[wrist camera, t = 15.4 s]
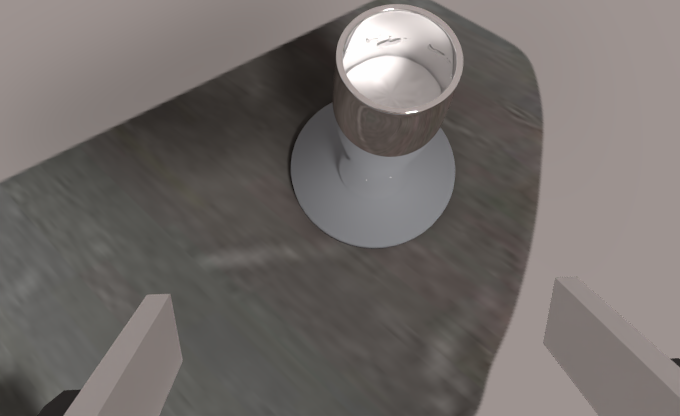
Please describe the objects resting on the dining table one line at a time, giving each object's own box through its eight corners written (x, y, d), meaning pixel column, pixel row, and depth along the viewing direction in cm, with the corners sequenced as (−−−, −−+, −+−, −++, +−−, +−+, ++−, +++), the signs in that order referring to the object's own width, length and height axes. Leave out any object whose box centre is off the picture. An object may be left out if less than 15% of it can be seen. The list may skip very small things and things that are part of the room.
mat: (277, 234, 35) (275, 231, 34) (307, 87, 39) (306, 82, 38) (445, 261, 35) (447, 259, 34) (459, 109, 39) (461, 105, 38)
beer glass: (320, 147, 37) (310, 27, 22) (392, 117, 37) (428, -17, 23) (354, 218, 35) (368, 138, 20) (429, 185, 36) (493, 85, 21)
